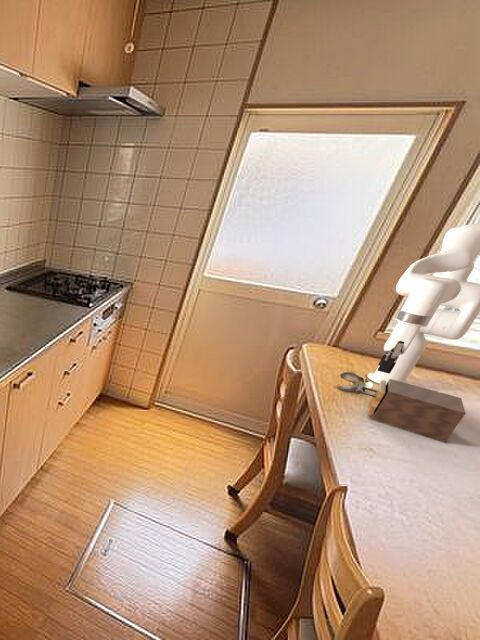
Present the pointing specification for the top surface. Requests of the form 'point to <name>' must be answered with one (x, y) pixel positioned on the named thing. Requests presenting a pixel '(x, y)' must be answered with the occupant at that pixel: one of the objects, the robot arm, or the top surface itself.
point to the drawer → (374, 396)
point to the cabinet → (419, 410)
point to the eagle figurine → (354, 381)
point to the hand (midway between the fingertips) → (383, 368)
